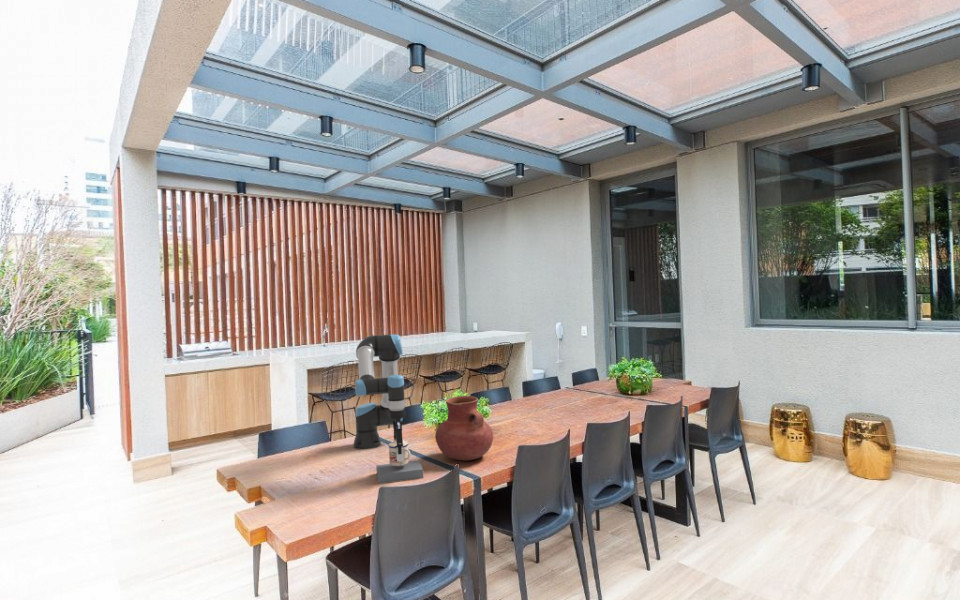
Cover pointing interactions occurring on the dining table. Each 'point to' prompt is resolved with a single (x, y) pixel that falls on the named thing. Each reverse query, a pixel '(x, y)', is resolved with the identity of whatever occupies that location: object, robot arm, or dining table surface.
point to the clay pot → (464, 430)
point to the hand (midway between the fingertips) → (398, 457)
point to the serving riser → (399, 472)
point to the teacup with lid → (394, 454)
